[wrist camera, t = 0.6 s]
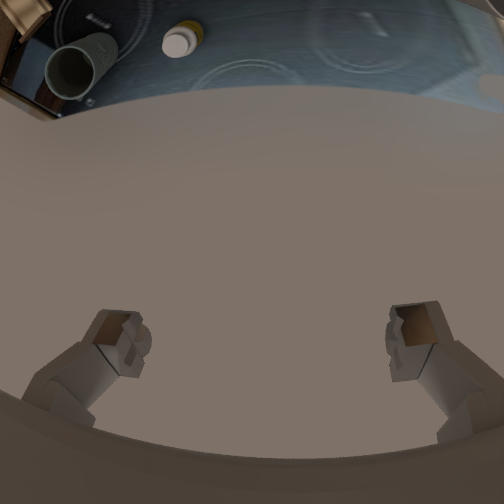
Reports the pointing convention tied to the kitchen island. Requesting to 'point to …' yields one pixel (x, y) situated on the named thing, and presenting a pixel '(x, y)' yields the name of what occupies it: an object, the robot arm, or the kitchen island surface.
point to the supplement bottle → (182, 39)
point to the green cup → (80, 65)
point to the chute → (27, 15)
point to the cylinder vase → (488, 6)
